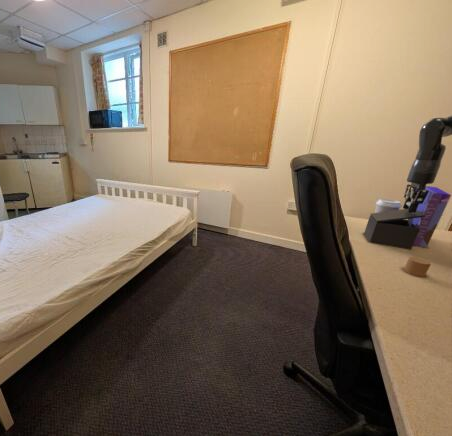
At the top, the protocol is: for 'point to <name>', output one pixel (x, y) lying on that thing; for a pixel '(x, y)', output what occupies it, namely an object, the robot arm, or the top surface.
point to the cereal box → (430, 214)
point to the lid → (396, 215)
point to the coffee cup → (387, 205)
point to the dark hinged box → (392, 233)
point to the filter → (417, 266)
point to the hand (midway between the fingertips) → (408, 210)
